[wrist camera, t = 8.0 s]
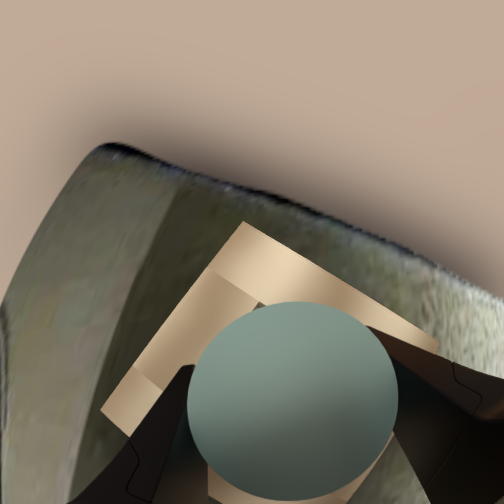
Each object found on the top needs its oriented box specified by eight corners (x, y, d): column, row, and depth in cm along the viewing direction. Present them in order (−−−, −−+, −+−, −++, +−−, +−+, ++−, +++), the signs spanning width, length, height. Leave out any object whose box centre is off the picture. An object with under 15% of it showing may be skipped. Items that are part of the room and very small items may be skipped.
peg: (340, 406, 14) (428, 425, 6) (256, 453, 13) (252, 530, 5) (294, 328, 16) (332, 265, 8) (210, 373, 15) (152, 360, 7)
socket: (409, 351, 17) (440, 342, 14) (299, 516, 13) (308, 544, 9) (246, 251, 20) (243, 221, 17) (129, 406, 16) (100, 409, 13)
